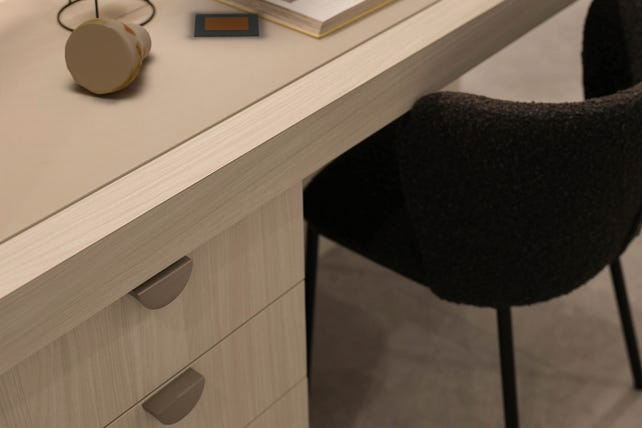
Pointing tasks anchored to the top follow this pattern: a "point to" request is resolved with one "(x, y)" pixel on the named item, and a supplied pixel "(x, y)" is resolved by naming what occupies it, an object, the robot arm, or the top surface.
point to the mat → (226, 25)
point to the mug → (106, 54)
